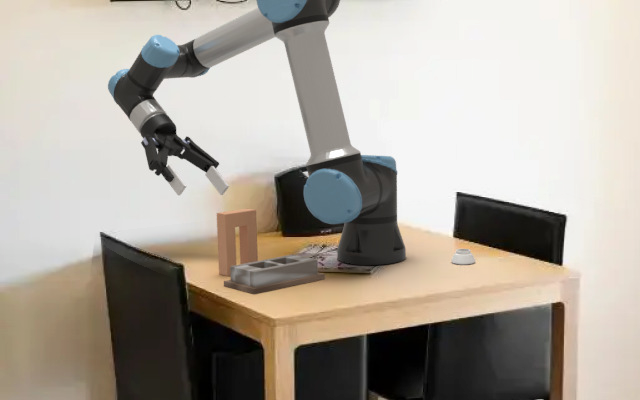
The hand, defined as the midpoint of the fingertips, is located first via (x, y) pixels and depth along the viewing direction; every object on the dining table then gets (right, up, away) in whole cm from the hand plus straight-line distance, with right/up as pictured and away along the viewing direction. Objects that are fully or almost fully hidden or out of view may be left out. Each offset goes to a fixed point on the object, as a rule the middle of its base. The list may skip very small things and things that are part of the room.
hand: (204, 190), depth 231 cm
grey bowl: (+56, -16, -2) cm, 58 cm away
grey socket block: (+16, -19, -16) cm, 29 cm away
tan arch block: (+8, -17, -5) cm, 20 cm away
